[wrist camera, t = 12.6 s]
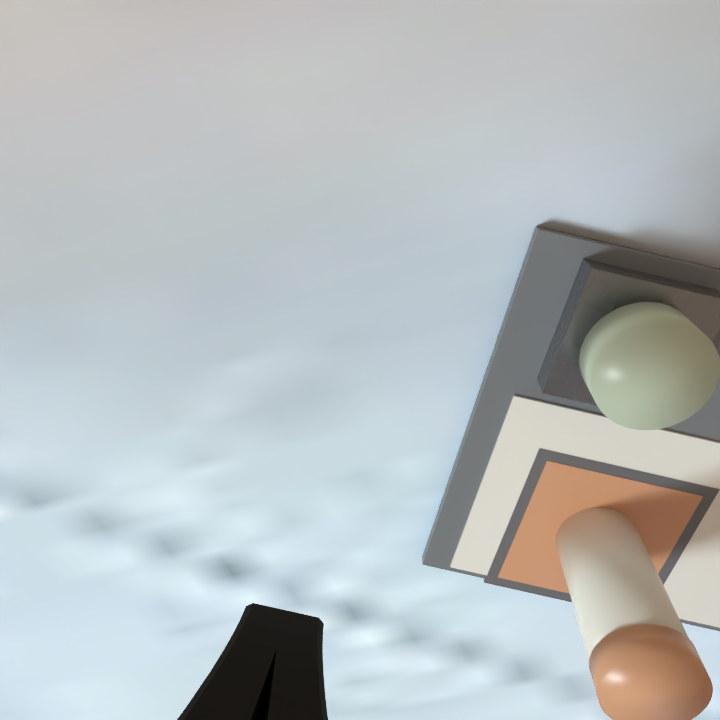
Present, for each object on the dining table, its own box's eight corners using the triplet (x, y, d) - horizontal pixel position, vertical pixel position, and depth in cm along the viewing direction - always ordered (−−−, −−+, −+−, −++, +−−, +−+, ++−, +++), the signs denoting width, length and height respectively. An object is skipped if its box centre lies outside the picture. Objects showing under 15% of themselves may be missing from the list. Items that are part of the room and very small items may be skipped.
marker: (650, 513, 21) (730, 666, 16) (623, 576, 23) (688, 737, 17) (566, 500, 21) (617, 647, 16) (544, 563, 23) (584, 719, 17)
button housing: (717, 289, 18) (733, 301, 17) (659, 406, 20) (670, 422, 19) (583, 258, 18) (591, 268, 17) (536, 378, 20) (542, 393, 19)
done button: (700, 301, 18) (743, 337, 16) (654, 395, 19) (686, 441, 17) (593, 276, 18) (619, 308, 15) (554, 372, 19) (573, 415, 17)
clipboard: (1031, 342, 18) (1048, 349, 18) (799, 643, 24) (807, 655, 23) (535, 226, 18) (539, 230, 17) (421, 558, 24) (421, 568, 23)
